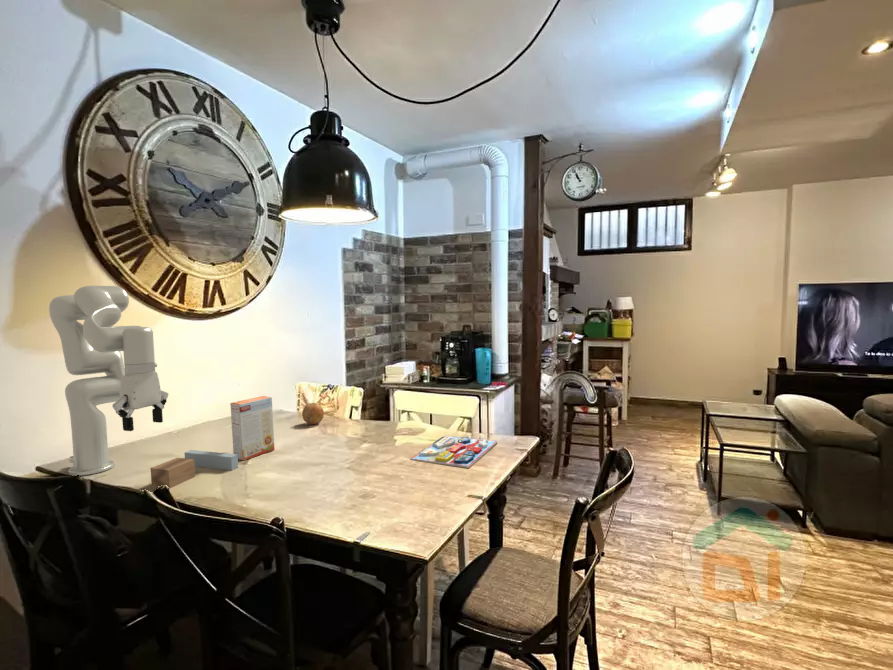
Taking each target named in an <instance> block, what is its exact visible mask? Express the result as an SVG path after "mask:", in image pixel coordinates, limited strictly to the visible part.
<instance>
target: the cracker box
mask: <svg viewBox="0 0 893 670" xmlns="http://www.w3.org/2000/svg"><path fill="white" fill-rule="evenodd" d="M273 414H274V413H273V397H272V396H265V395H261V396H257V397H252V398H247V399H244V400H237V401H234V402H233V401H232V402H230V417H231V418H230V419H231V420H230V421H231V433H232V434H231V435H232V436H231V437H232V449H233V450H232V451H233V453H232V454H237V455H238V461H246V460H249V459H251V458H255V457H258V456H261V455H264V454H267V453H269V452H273V451H275V434H274V433H275V429H274V415H273Z"/></svg>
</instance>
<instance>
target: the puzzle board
mask: <svg viewBox="0 0 893 670" xmlns="http://www.w3.org/2000/svg"><path fill="white" fill-rule="evenodd" d="M497 444H498V441H497V440H493V439H492V440H491V439H484V438H482V439H481V438H474V437H469V436H468V435H467V436H453V435H443V436H442V437H440V438H438V439H437V440H435V441H434V442H432V443H431V445H429V446H428V447H426V448H424V449H422V450H421V451H419V452H418V453H416V454H415V455H413V457H410V461H416V462H423V463H430V464H436V465H443V466H444V465H445V466H451V467H456V468H457V467H458V468H463V469H470V468H471V467H472V466H475V464H476V463H477V462H479V460H480V459H481V458H483V457H484V456H485V455H486V454H487V453H488V452H490V450H492V449H493V448H494V447H495V446H497Z"/></svg>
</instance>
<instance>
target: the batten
mask: <svg viewBox="0 0 893 670" xmlns="http://www.w3.org/2000/svg"><path fill="white" fill-rule="evenodd" d="M184 458H186V459H194V463H195V467H198V468H199V467H200V468H207V469H208V468H209V469H217V470H225V471H226V470H227V471H233V470H236V469H238V468H239V459H238V455H237V454H234V453H226V452H217V451H207V450H206V451H205V450H196V449H190V450H187V451H185V452H184Z"/></svg>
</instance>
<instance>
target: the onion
mask: <svg viewBox="0 0 893 670" xmlns="http://www.w3.org/2000/svg"><path fill="white" fill-rule="evenodd" d="M301 413H302V414H301V415H302V419H303V421H304V422H305V423H307V424H308V425H316V424H319V423H320V422H321V421H322V420H323V418H324V415H325V411H324V409H323V407H322V406H321V405H320V404H319V403H317V402H310V403H307V404H306V405H304V408H302V412H301Z"/></svg>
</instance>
